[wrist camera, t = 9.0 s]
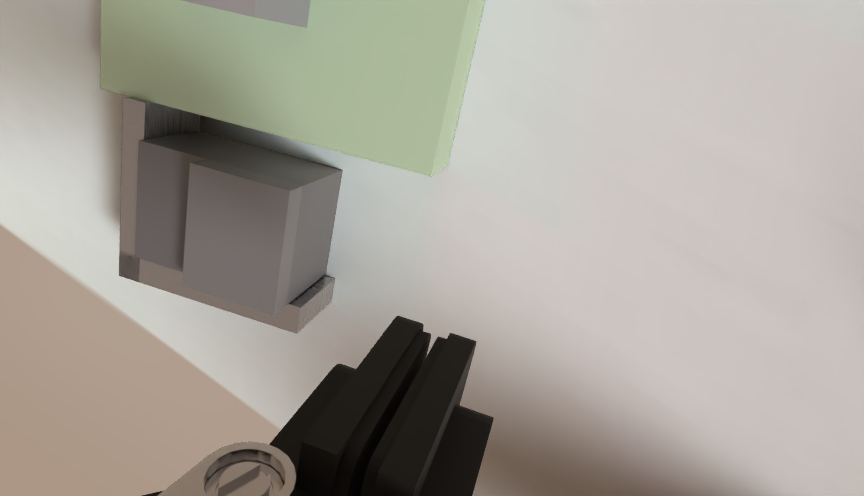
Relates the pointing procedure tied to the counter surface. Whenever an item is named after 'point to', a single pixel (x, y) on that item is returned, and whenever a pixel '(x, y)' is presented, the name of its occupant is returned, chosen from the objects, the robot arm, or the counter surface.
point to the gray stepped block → (234, 217)
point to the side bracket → (152, 123)
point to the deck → (303, 68)
